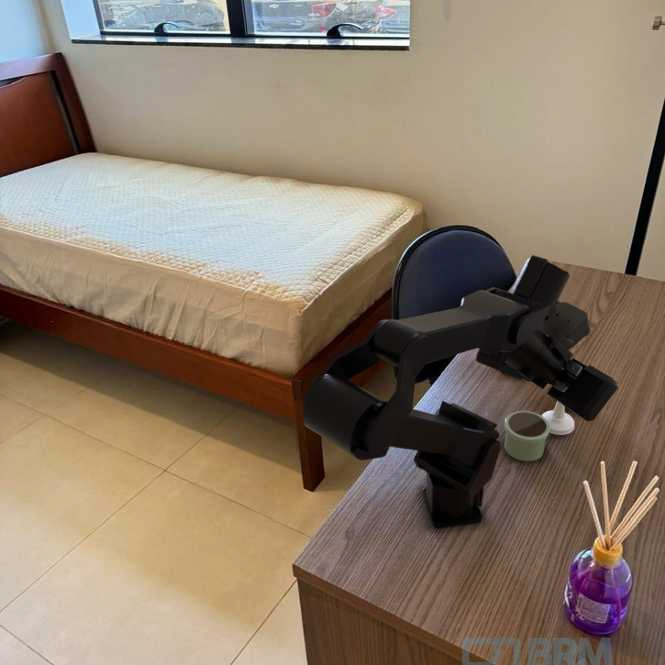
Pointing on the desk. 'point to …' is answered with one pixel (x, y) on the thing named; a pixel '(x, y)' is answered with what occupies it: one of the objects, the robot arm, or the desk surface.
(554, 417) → the chess piece
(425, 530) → the desk surface
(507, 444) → the pot
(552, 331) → the robot arm
